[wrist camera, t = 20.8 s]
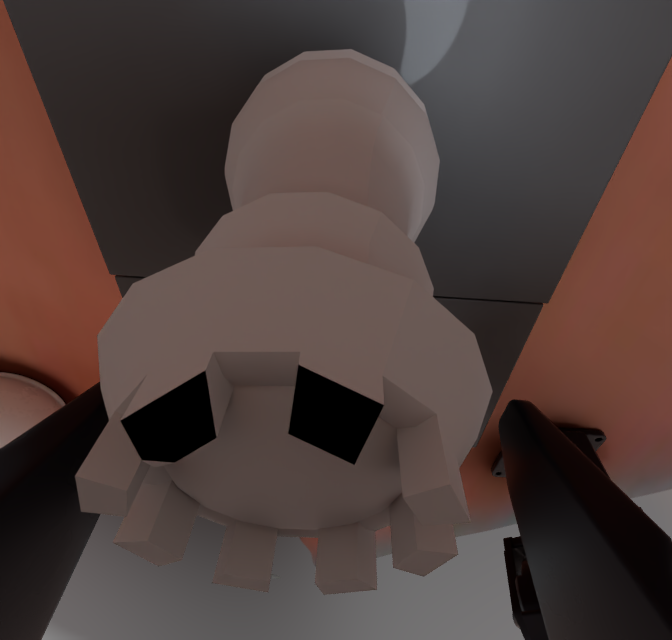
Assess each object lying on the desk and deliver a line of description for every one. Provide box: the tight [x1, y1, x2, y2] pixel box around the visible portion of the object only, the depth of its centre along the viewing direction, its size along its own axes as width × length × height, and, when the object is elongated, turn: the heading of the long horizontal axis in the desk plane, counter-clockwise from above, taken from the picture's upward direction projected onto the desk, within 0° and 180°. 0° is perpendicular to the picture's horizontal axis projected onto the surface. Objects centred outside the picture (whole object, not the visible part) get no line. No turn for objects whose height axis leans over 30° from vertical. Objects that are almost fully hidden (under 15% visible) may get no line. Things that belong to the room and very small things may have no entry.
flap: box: [115, 275, 543, 447], centre depth 14 cm, size 7×13×1 cm, turn 87°
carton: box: [3, 0, 672, 303], centre depth 14 cm, size 15×13×8 cm
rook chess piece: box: [75, 49, 493, 595], centre depth 6 cm, size 4×4×8 cm
